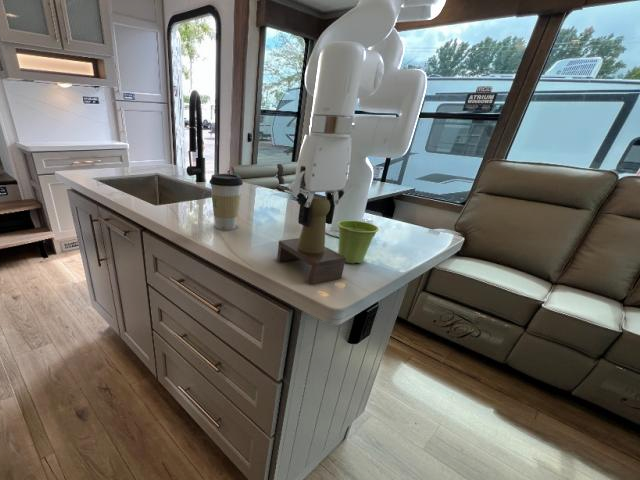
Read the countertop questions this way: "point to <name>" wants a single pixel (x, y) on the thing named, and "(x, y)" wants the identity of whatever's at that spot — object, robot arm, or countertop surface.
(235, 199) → the coffee cup
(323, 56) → the robot arm
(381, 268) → the countertop surface
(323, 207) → the olive pawn figure
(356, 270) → the countertop surface
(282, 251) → the shelf
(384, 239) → the countertop surface
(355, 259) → the plant pot
